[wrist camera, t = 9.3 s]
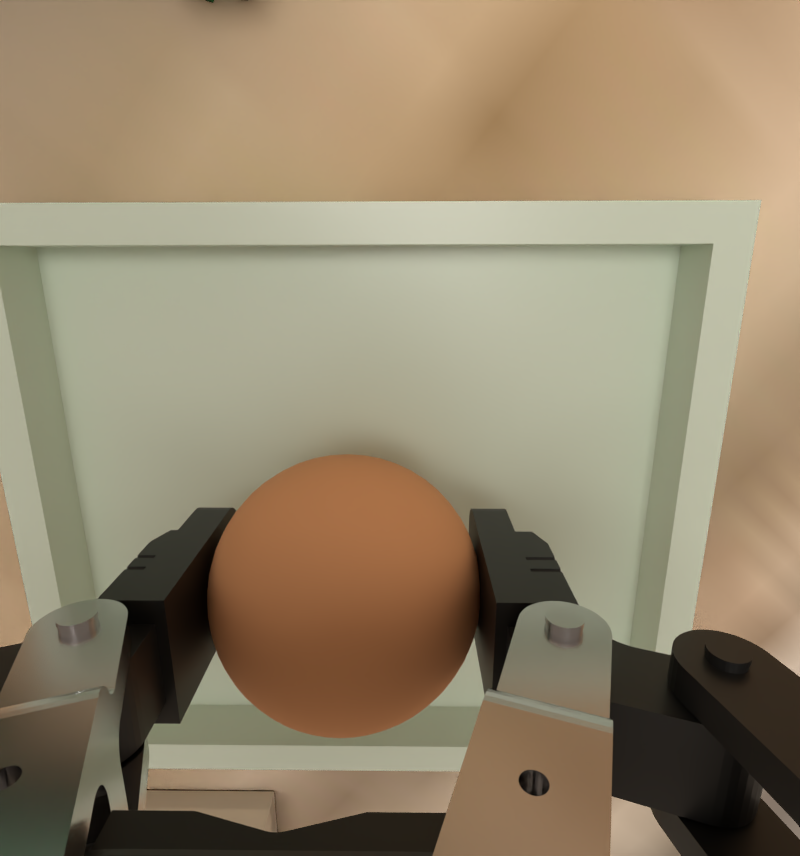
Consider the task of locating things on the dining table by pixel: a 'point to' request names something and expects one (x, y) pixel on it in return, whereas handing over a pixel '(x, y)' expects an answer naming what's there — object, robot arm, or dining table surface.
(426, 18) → the dining table surface
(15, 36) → the dining table surface
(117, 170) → the dining table surface
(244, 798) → the cream square dish
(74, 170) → the dining table surface
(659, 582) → the tray
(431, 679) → the ball
